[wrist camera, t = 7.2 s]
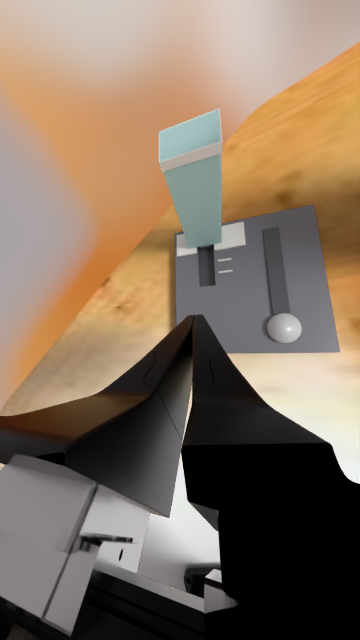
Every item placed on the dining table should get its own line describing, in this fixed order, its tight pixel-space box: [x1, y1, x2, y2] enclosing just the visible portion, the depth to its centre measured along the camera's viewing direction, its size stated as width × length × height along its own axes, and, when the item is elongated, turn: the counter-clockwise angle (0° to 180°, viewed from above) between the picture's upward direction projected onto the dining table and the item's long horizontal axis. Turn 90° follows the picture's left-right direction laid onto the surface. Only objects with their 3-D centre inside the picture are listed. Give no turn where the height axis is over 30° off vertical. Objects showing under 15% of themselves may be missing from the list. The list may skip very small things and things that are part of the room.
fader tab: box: [159, 109, 222, 249], centre depth 15 cm, size 3×4×11 cm, turn 91°
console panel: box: [175, 204, 340, 353], centre depth 18 cm, size 16×16×1 cm
